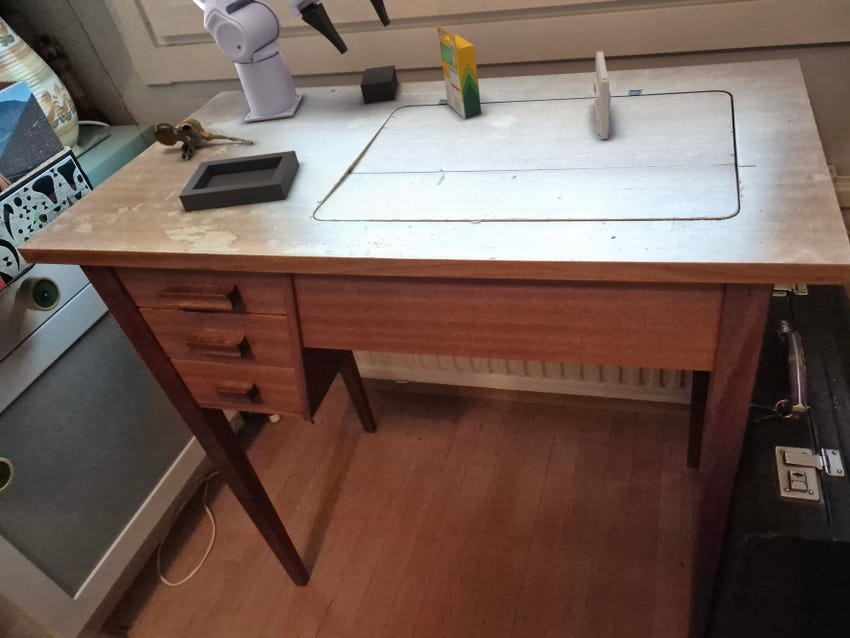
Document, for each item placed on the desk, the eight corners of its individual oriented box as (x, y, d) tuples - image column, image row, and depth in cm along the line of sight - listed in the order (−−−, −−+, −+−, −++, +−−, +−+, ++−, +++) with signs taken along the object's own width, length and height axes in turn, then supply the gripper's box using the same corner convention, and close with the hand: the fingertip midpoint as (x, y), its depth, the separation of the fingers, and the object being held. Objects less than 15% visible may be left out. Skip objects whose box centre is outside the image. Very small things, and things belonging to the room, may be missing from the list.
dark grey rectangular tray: (207, 176, 93) (201, 161, 91) (299, 165, 92) (294, 150, 90) (185, 211, 85) (178, 195, 84) (285, 199, 84) (279, 183, 83)
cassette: (611, 139, 86) (612, 79, 81) (597, 140, 86) (597, 81, 81) (605, 105, 95) (606, 49, 90) (592, 106, 95) (592, 50, 90)
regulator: (261, 138, 103) (168, 129, 103) (254, 118, 99) (157, 109, 100) (249, 173, 99) (151, 164, 100) (241, 154, 96) (140, 144, 96)
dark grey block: (369, 86, 113) (365, 68, 111) (398, 83, 113) (394, 65, 111) (364, 103, 107) (360, 85, 105) (394, 100, 107) (390, 81, 105)
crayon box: (483, 114, 98) (473, 30, 90) (464, 119, 97) (453, 35, 90) (465, 100, 103) (454, 19, 96) (447, 104, 102) (435, 24, 95)
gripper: (260, -25, 89) (320, 69, 96) (346, -87, 85) (403, 16, 92) (275, -30, 95) (331, 60, 102) (357, -88, 91) (409, 9, 97)
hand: (366, 38), depth 97 cm, fingers open, 7 cm apart
